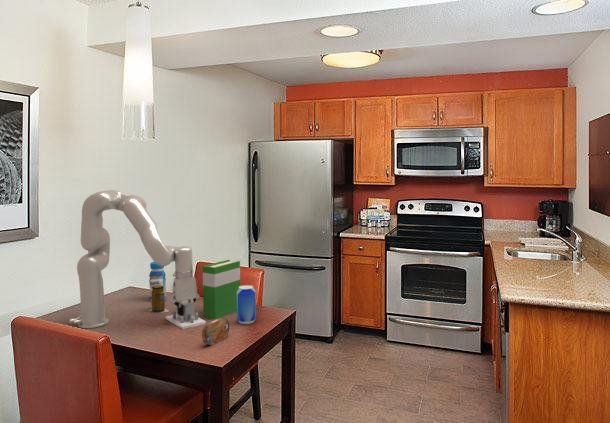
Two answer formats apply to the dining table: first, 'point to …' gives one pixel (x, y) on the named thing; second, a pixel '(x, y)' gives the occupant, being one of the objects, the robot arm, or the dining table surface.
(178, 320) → the white peg board
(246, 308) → the beer can
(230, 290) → the hardback book
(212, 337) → the tin
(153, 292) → the condiment
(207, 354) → the dining table surface
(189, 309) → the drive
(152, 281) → the beverage bottle
